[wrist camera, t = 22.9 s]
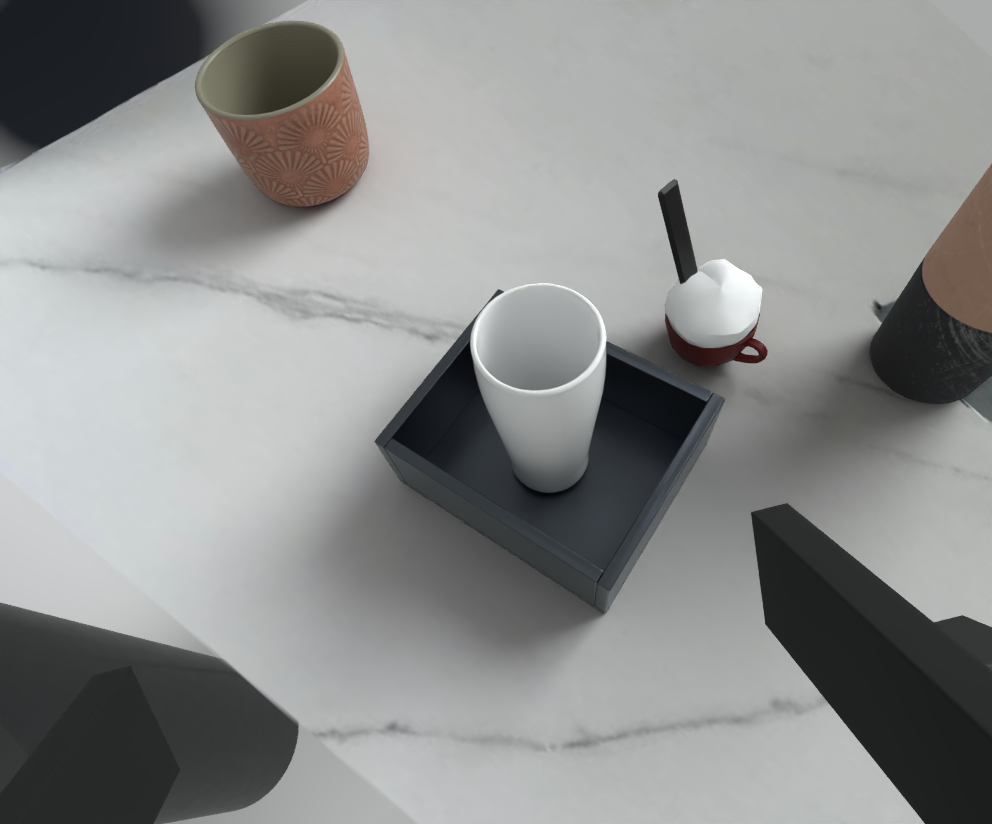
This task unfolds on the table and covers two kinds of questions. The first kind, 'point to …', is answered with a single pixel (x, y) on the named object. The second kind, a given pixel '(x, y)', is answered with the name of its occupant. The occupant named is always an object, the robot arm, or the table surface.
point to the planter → (287, 110)
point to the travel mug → (944, 312)
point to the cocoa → (707, 298)
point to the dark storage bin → (582, 507)
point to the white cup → (542, 379)
